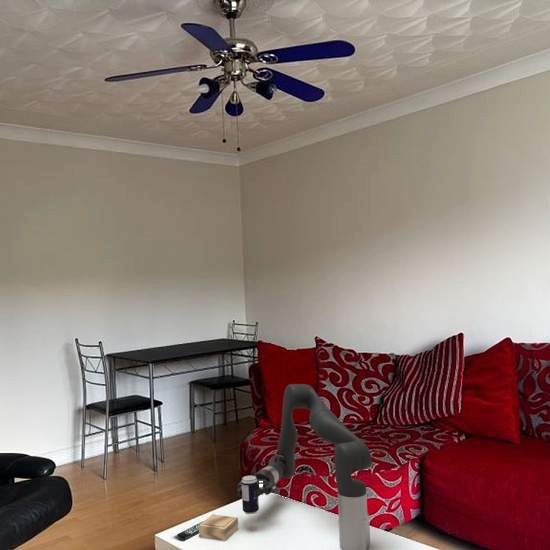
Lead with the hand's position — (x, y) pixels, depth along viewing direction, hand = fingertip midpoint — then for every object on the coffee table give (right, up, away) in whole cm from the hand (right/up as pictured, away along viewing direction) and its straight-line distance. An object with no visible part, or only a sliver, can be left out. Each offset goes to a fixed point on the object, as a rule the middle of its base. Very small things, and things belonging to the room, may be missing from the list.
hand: (247, 494), depth 199 cm
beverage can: (+1, -7, +2) cm, 8 cm away
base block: (-10, -13, -1) cm, 16 cm away
